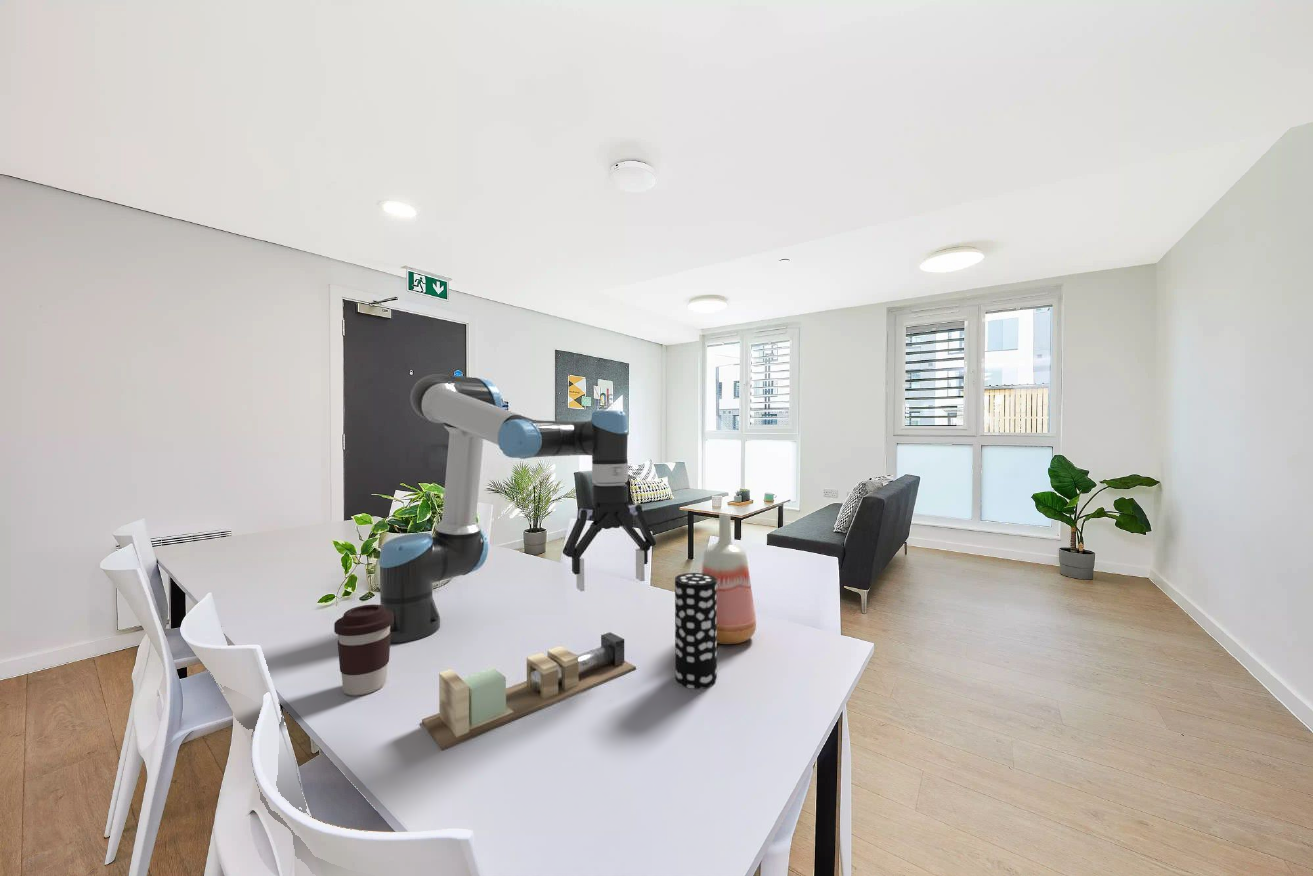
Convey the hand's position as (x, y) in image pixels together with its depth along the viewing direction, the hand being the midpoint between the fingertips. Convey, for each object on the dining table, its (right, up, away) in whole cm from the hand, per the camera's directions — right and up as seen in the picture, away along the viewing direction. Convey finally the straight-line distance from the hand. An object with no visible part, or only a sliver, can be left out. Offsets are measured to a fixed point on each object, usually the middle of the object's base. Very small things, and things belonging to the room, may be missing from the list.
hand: (611, 584), depth 103 cm
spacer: (-21, -17, -18) cm, 32 cm away
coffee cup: (-47, -18, -8) cm, 51 cm away
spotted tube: (+17, -18, -5) cm, 25 cm away
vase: (+26, -17, +15) cm, 35 cm away
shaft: (-6, -16, -5) cm, 18 cm away
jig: (-13, -17, -11) cm, 24 cm away
